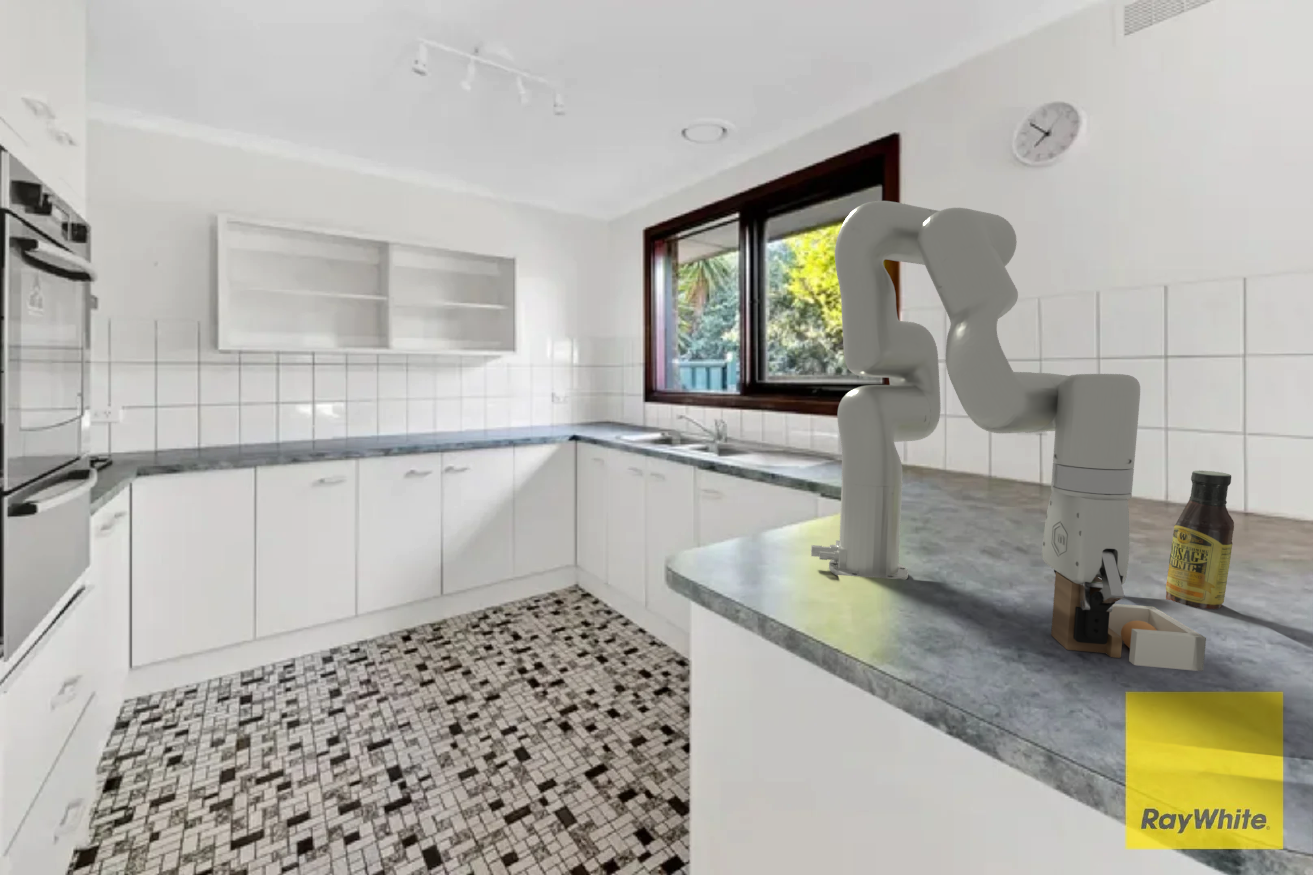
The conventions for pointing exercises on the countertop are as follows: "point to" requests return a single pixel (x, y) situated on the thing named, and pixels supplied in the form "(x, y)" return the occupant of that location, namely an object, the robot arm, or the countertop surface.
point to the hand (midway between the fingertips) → (1079, 631)
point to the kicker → (1065, 619)
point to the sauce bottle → (1202, 544)
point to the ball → (1133, 625)
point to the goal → (1159, 639)
